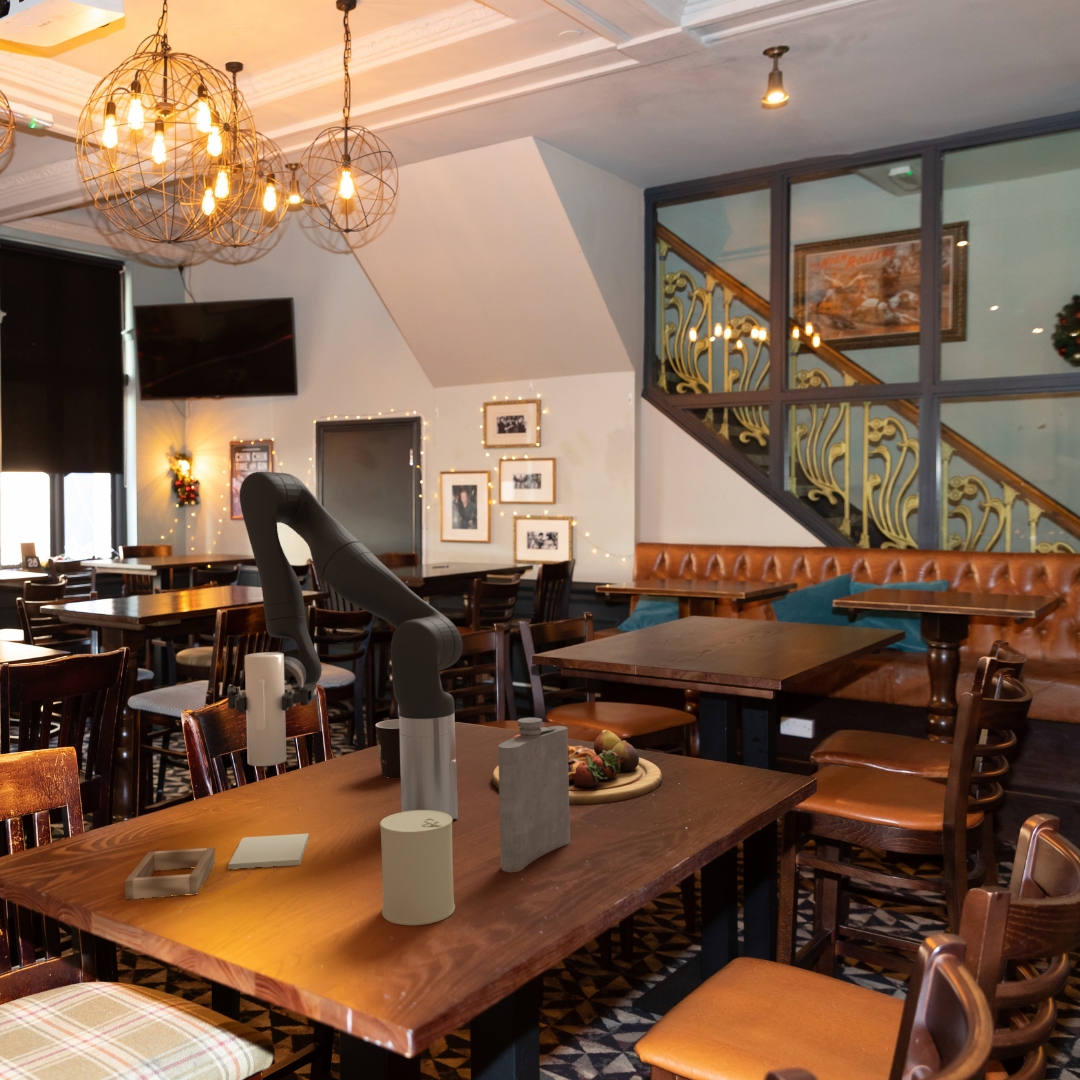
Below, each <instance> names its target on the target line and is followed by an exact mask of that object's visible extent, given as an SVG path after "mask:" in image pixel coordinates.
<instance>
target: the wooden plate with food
mask: <svg viewBox="0 0 1080 1080" xmlns="http://www.w3.org/2000/svg"><path fill="white" fill-rule="evenodd" d="M517 736H520V733H519V734H515V735H514V736H513V737H512V738H514V737H517ZM593 745H594V746H593V749H590V748H588V747H584V746H583V745H576V746H575V745H574V746H573V745H571V746H570V744H569V743H568V775H569V805H587V804H592V805H593V804H601V803H603V804H604V803H611V802H619V801H623V800H629V799H632V798H634V799H635V798H637V797H641V796H644V795H646V794H648V793H650V792H652V791H654V790H656V789H657V788H658V787H659V786H660V785H661V783H662V781H663V774H662V771H661V769H660V768H659V767H658V766H657V765H656V764H654V763H653V762H651V761H649V760H647V759H644V758H642V757H640V756H639V752H638V750H637V749H636V748H635V747H634V746H633V745H632V744H630V743H629V742H627V740H621V738H620V737H619V736H618V735H617V734H615V732H612V731H611V730H608V729H603V730H601V731H600V733H599V735H598V736H597V737H596V739H595V740H594V743H593ZM491 779H492V783H493V785H494V786H495V787H496V789H498V790H499V764H498V765H497V766H496V767H495V768H494V770H493V772H492V773H491Z"/></svg>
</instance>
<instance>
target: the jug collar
mask: <svg viewBox="0 0 1080 1080" xmlns="http://www.w3.org/2000/svg"><path fill="white" fill-rule="evenodd" d="M215 850H216V849H215V847H204V848H203V847H201V848H190V849H189V848H188V849H173V850H170V849H169V850H158V851H156V850H155V851H148V852H147V853H146V854H145V856H144V857H142V859H141V860H140V861H139V863H138V864H137V866H136V867H135V868H134V869H133V871H132V872H131V873H130V874H129V875H128V876H127V878H126V879H125V880H124V887H125V888H124V890H125V893H124V894H125V900H126V899H130V900H142V898H144V899H153V898H152V897H158V898H162V897H161V896H171V895H173V897H175V896H174V895H185V894H196V893H198V892H199V893H200V891H201V889H202V888H201V886H202V885H203V886H204V884H205V883H204V882H206V881H207V879H208V877H209V876H210V874H211V872H212V871H213V869H212V868H214V867H215V865H216V858H215V855H216V854H215ZM214 864H215V865H214ZM213 866H214V867H213ZM191 867H195V868H193V870H192V871H191V873H188V874H187V873H186V874H173V875H170V874H169V875H160V876H152V875H153V874H152V873H154V872H156V871H155V870H161V871H168V870H167V869H176V870H180V869H179V868H191ZM191 869H192V868H191ZM211 870H212V871H211ZM210 871H211V872H210ZM209 873H210V874H209ZM208 875H209V876H208ZM207 876H208V877H207ZM206 878H207V879H206ZM205 880H206V881H205ZM203 883H204V884H203ZM203 886H202V887H203ZM200 888H201V889H200ZM199 890H200V891H199ZM199 893H198V894H199ZM140 898H141V899H140Z"/></svg>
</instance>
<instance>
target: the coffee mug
mask: <svg viewBox="0 0 1080 1080" xmlns="http://www.w3.org/2000/svg"><path fill="white" fill-rule="evenodd" d="M375 731H376V732H375V733H376V738H377V739H376V740H377V747H378V752H379V753H378V754H379V760H380V767H381V774H382V777H383V776H385V777H389V778H401V767H400V727H399V718H398V719H397V718H396V719H387V720H384V721H383V720H382V721H379V722H377V723H376V724H375ZM385 777H384V778H385ZM389 778H388V779H389Z"/></svg>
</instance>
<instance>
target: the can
mask: <svg viewBox="0 0 1080 1080" xmlns="http://www.w3.org/2000/svg"><path fill="white" fill-rule="evenodd" d="M453 820H454V819H452V817H451V816H450V815H449V814H447V813H444V812H440V811H432V810H413V811H405V812H402V811H401V812H396V813H393V814H391V815H388V816H386V817H384V818H383V819H381V821H380V822H379V827H380V840H381V845H380V846H381V869H382V870H381V872H382V909H381V914H382V915H381V916H382V917H383V918H384V919H385V920H386V921H387V922H389V923H393V924H397V925H402V926H423V925H429V924H430V925H431V924H434V923H438V922H441V921H443V920H445V919H447V918H449V917H450V916H451V915H452V914H454V913H455V910H456V904H455V897H454V896H455V895H454V872H453V871H454V870H453V867H454V866H453V863H454V862H453Z"/></svg>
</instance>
